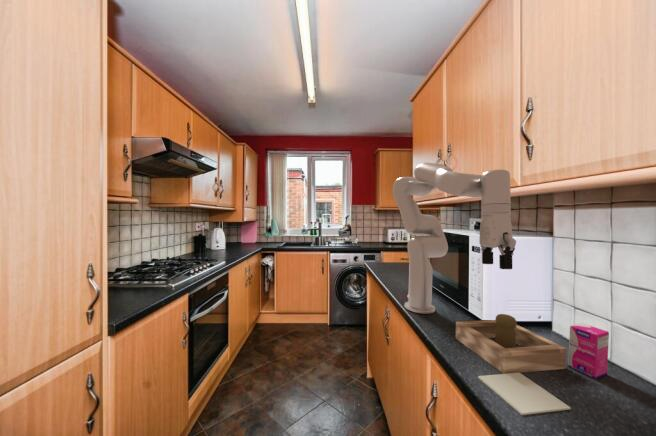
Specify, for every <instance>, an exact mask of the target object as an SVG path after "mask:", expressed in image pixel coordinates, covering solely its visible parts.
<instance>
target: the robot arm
mask: <svg viewBox="0 0 656 436" xmlns="http://www.w3.org/2000/svg"><path fill="white" fill-rule="evenodd" d="M413 175H414V176H402V177H401V176H400V177H399V178H397V179H396V180H394V183H393V185H392V195H393V196H392V197H393V200H394V201H395V203H396V206H397V207H398V209H399V213H400V216H401V220H402V223H403V226H404V229H405V231H406V233H407V234H408V235H413V237H411V238H410V239H409V240H408V241H407V253H408V263H409V264H408V293H407V295H406V297H407V301H405V302H404V308H405V309H406V310H408V311H411V312H412V313H417V314H427V315H428V314H433V313H435V312H436V307H435V306H434V305H433V304H432V297H433V295H432V294H433V265H432V264H431V262H430V258H432V259H433V258H442V257H444V256H446V255H447V253H448V251H449V245H448V241H447V237H446V235H445V232H444V230H443V227H442V225H441V223H440V220H439V219H438V218H437V217H436V216H435V215H433V214H423V213H422V212H421V210H420V208H419V205H418V204H417V202H416V201H415V200H414V199H413V198H412V196H417V197H418V196H420V197H423V196H427V195H430V194H431V193H433V192H434V191H435V190H437V189H438V190H439V192H443V193H445V194H449V195H453V196H455V197H470V198H481V199H480V200H481V202H480V203H481V205H480V206H481V208H480V209H481V218H480V225H479V245H480V247H481V249H480V251H481V263H482V264H483V265H493V264H494V251H493V249H496V248H498V250H499V253H500V254H499V269H500V270H512V269H513V256H514V251H515V249H516V248H515V247H516V244H517V240H516V239H514V237H513V226H512V219H511V214H512V212H511V210H512V209H511V173H510V172H509V170H506V169H491V170H487V171H484V172H482V174H475V173H464V172H456V171H453V168H451V167H449V166H446V165H444V164H443V163H441V164H440V163H436V162H435V163H433V162H422V163H419V164H418V165H417V166H416V167H415V168H414V170H413Z"/></svg>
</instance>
